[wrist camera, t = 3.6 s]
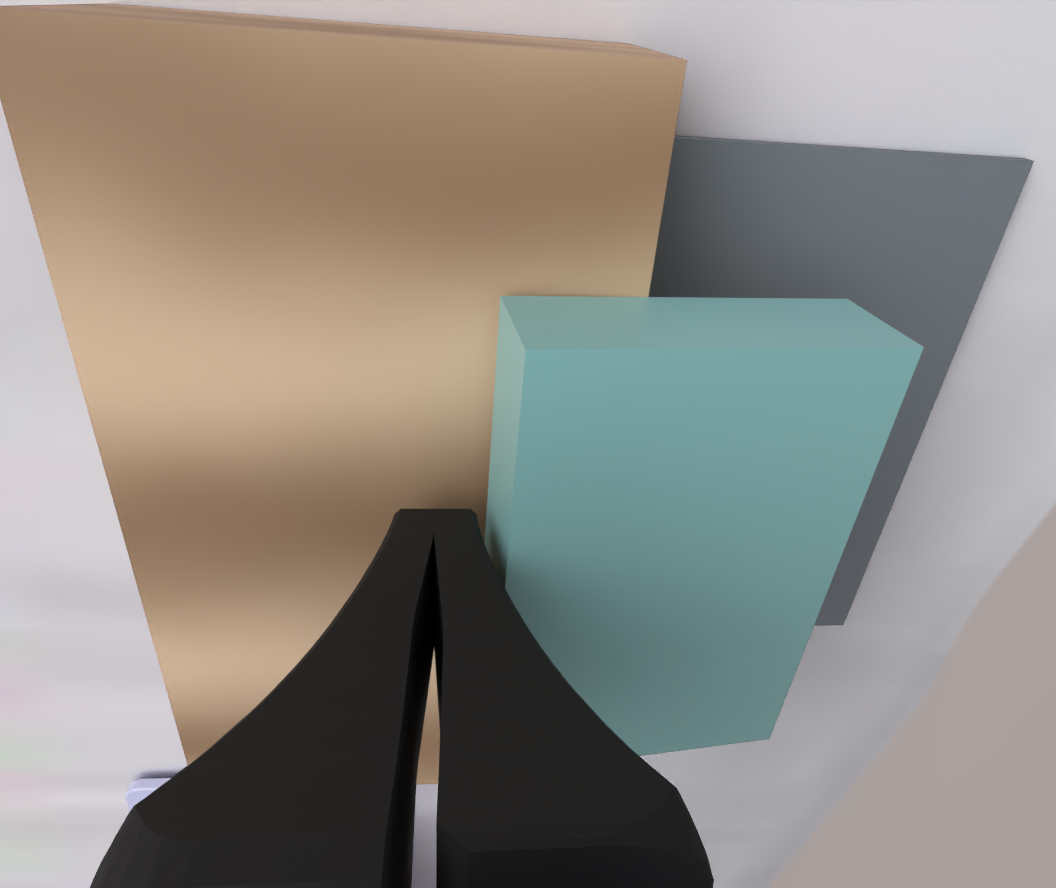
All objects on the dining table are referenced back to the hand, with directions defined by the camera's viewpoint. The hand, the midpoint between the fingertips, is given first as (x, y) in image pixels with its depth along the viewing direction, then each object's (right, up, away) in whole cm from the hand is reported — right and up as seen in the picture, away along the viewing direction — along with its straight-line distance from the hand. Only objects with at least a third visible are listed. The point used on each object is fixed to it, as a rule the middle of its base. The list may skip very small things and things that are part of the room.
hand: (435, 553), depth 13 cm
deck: (-2, +3, +4) cm, 5 cm away
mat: (+8, +2, +5) cm, 9 cm away
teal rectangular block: (+4, 0, +1) cm, 4 cm away
